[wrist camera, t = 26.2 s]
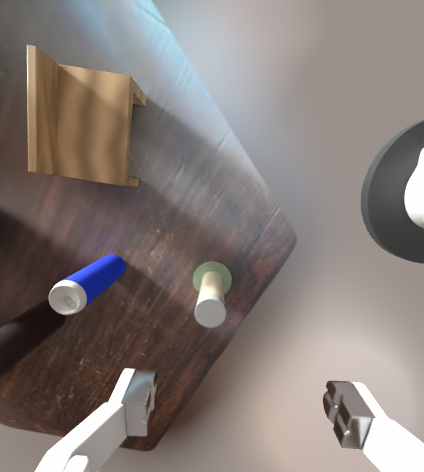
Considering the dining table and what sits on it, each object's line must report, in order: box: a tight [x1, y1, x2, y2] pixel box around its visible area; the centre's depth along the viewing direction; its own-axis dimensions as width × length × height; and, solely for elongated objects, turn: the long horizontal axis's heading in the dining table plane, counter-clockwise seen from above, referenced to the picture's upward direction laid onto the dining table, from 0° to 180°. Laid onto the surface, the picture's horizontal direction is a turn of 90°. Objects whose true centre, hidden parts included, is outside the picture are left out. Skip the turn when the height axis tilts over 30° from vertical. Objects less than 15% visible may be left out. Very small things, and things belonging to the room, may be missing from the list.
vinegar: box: [0, 301, 65, 378], centre depth 38 cm, size 7×7×20 cm
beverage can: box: [49, 254, 125, 315], centre depth 38 cm, size 5×5×15 cm
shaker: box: [195, 271, 226, 328], centre depth 39 cm, size 5×5×12 cm
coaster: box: [193, 261, 232, 295], centre depth 45 cm, size 8×8×1 cm
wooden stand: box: [27, 45, 146, 187], centre depth 35 cm, size 12×16×11 cm
